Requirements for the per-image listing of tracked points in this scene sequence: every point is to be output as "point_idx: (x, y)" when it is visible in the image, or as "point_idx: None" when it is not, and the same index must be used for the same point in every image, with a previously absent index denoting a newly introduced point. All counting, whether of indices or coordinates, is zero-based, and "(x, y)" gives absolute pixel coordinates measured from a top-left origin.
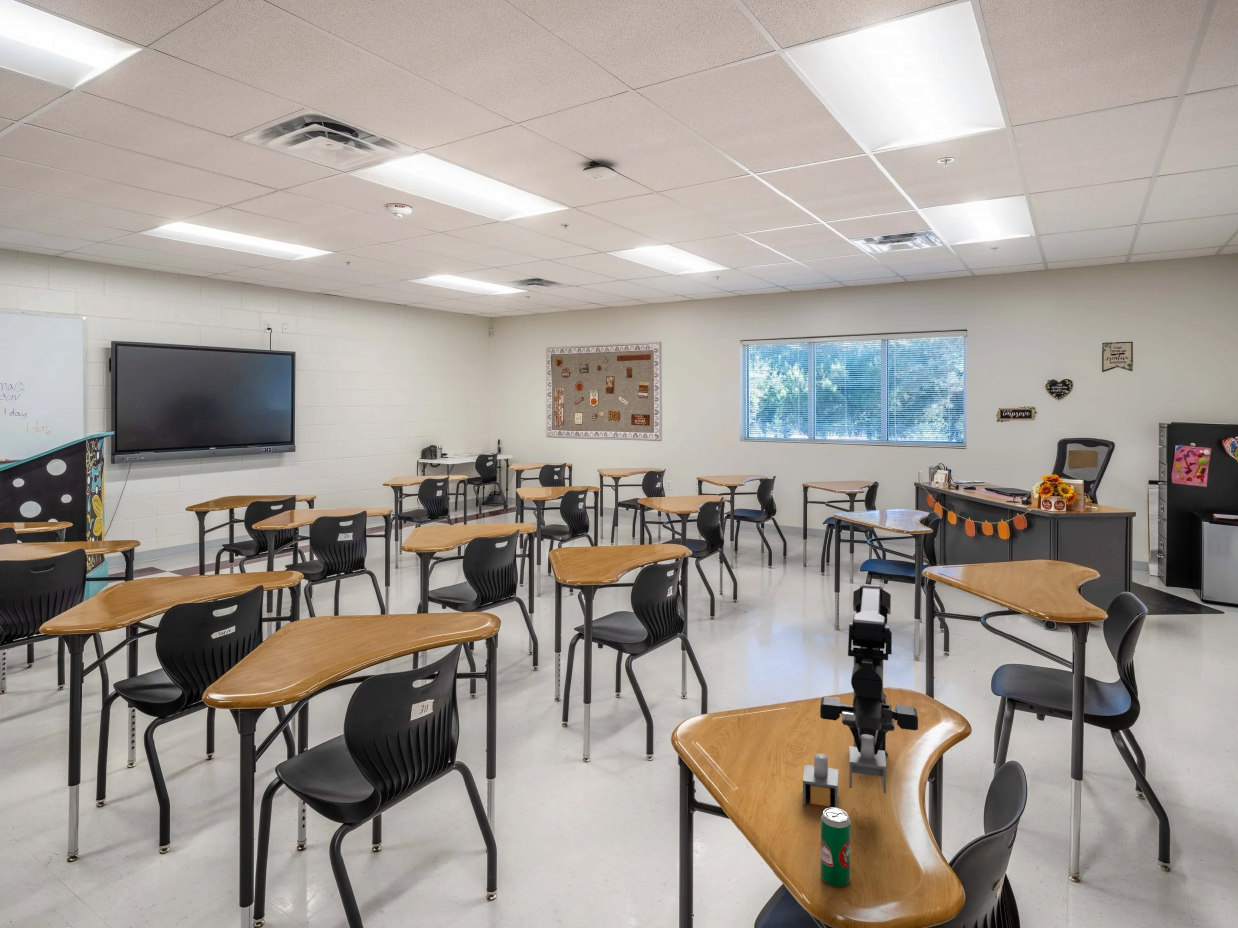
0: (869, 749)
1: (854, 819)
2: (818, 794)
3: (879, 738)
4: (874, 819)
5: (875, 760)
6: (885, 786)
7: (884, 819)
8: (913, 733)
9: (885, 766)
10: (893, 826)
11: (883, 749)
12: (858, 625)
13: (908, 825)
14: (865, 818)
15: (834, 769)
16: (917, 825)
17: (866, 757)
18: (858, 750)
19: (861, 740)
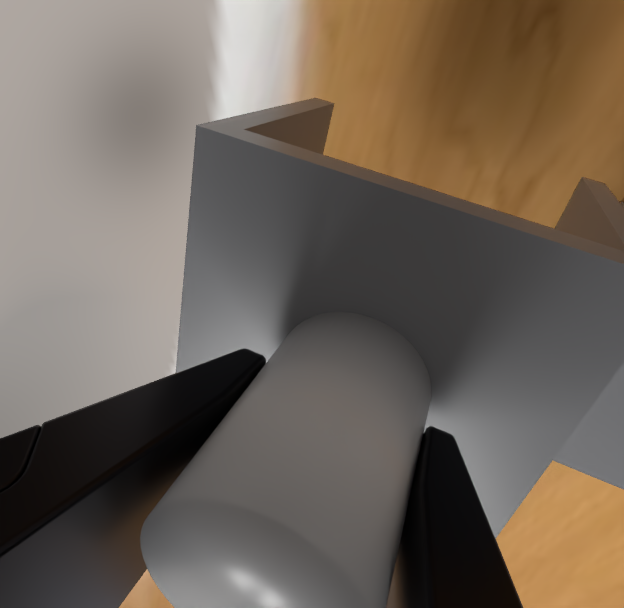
0: (308, 386)
1: (548, 113)
2: None
3: (22, 476)
4: (423, 119)
5: (289, 284)
6: (299, 104)
7: (368, 121)
8: (141, 594)
9: (205, 133)
10: (341, 51)
11: None
12: None
13: (263, 69)
14: (472, 127)
15: (564, 456)
16: (223, 73)
17: (380, 334)
18: (454, 444)
19: (386, 565)
